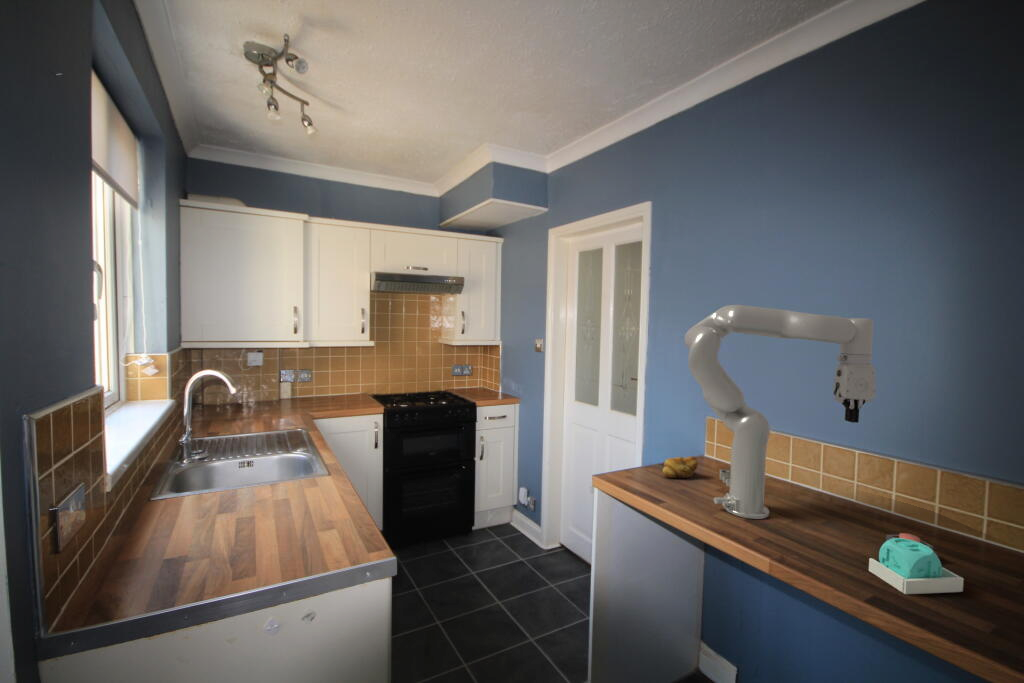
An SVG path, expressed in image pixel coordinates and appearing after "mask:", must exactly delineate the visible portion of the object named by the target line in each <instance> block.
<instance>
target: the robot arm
mask: <svg viewBox="0 0 1024 683" xmlns="http://www.w3.org/2000/svg"><path fill="white" fill-rule="evenodd" d="M731 333H734V334H735V333H736V334H742V335H743V334H744V335H752V336H760V337H766V338H767V337H769V338H775V339H785V340H793V339H794V340H807V341H814V342H815V341H816V342H821V343H831V344H839V345H840V346H839V355H838V356H837V357H836V359H837V361H839V362H838V363H837V365H836V369H835V373H834V377H833V387H832V388H833V389H832V390H833V395H834V401H835V402H836V403H837V402H838V403H841V404H842V405H843V408H845V409H844V410H845V411H844V413H845V414H844V421H846V422H849V423H853V424H855V423H857V424H858V423H859V420H860V418H859V417H860V410H862V408H863V405H864V404H867V403H871V402H872V399H874V398H876V392H877V389H876V388H877V383H876V380H877V379H876V370H875V367H874V365H872V352H873V351H872V350H873V336H874V334H873V333H874V321H873V320H872V319H870V318H864V317H862V318H861V317H858V318H856V317H852V318H851V317H849V318H847V317H843V316H835V315H826V314H817V313H809V312H808V313H807V312H800V311H795V310H788V309H779V308H769V307H759V306H754V305H752V306H751V305H745V304H744V305H743V304H730V305H727V304H726V305H725V306H722V307H721V308H718V309H717V310H716V311H714V312H712V313H711V314H710V315H708V316H706V317H705V318H703V319H702V320H700V321H699V322H698V323H696V324H694V325H693V326H692V327H690V328H689V329H688V330H687V331H686V333H685V336H684V343H685V346H686V347H687V349H688V357H687V359H688V361H687V362H688V369H689V371H690V373H691V374H692V376H693V378H694V380H695V381H696V382H697V383H698V385H699V387H701V389H702V396H703V398H704V400H705V402H706V403H707V405H708V406H709V407H710V408H711V410H712V411H713V412H714V413H715V415H717V417H718V418H719V420H720V421H721V423H723V424H724V426H726V428H727V429H728V430H730V432H732V433H733V438H732V444H731V448H730V470H729V471H730V487H729V492H726V493H725V495H724V496H723V497H721V496H720V497H719V496H715V497H713V502H714V504H716V505H720V504H721V505H722V506H723V508H724V509H725V511H727V512H728V513H729V514H732V515H734V516H738V517H739V518H745V519H752V520H762V519H763V520H764V519H766V518H768V517H769V516H770V510H769V508H768V507H767V506H765V505H764V504H765V503H764V502H765V481H766V462H767V460H766V458H767V446H768V442H769V438H770V433H771V432H770V431H771V426H770V423H769V421H768V419H767V418H766V416H765V415H764V414H763V413H761V412H760V411H758V410H757V409H755V408H752V407H750V406H749V405H748V404H747V403H746V401H745V396H744V394H743V393H744V392H743V391H742V390H741V388H740V387H739V386H738V384H737V383H736V382H735V381H734V380H733V379H732V378H731V377H730V375H729V374H728V373H727V371H726V370H725V369H724V368H723V366H722V364H721V363H720V361H719V351H720V348H721V344H722V339H724V338H726V337H727V336H728V335H729V334H731Z"/></svg>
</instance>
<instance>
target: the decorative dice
mask: <svg viewBox="0 0 1024 683" xmlns="http://www.w3.org/2000/svg"><path fill="white" fill-rule="evenodd" d="M878 551H879V552H878V560H879V561H878V562H879V563H881V564H882V565H884V566H886V567H887V568H889V569H891V570H892V571H894V572H896V573H897V574H899V575H900V576H902V577H904V578H905V579H918V578H941V576H942V567H943V566H942V562H941V560H940V557H939V556H938V555H937V553H936V552H935V551H934V549H933V550H932V549H931V548H929V547H928V546H926V545H924V544H922V543H919V542H916V541H913V540H909V539H904V538H892V539H889V540H888V541H886V540H885V542H884V543H883V544H882V545H881V547H880V548H879V550H878Z"/></svg>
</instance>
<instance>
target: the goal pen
mask: <svg viewBox="0 0 1024 683" xmlns="http://www.w3.org/2000/svg"><path fill="white" fill-rule="evenodd" d="M868 561H869V562H868V571H869V573H872V574H874V576H876V577H878V578H879V579H881V580H882V581H884V582H885V583H887V584H888V585H890V586H892V587H893V588H895V589H897V590H898V591H899V592H901V593H903V594H904V595H919V594H941V593H942V594H943V593H961V592H962V593H963V591H964V578H963V577H962V576H961V575H957V574H956V573H954V572H952V571H950V569H949V570H948V569H947V568H945V567H943V566H942V576H941V578H918V579H905V578H904V577H902V576H900V575H899V574H897V573H896V572H894V571H892V570H891V569H889V568H887V567H886V566H884V565H882V564H881V563H880V561H877V560H876V559H874V557H873V558H872V557H871V558H869V559H868Z"/></svg>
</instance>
